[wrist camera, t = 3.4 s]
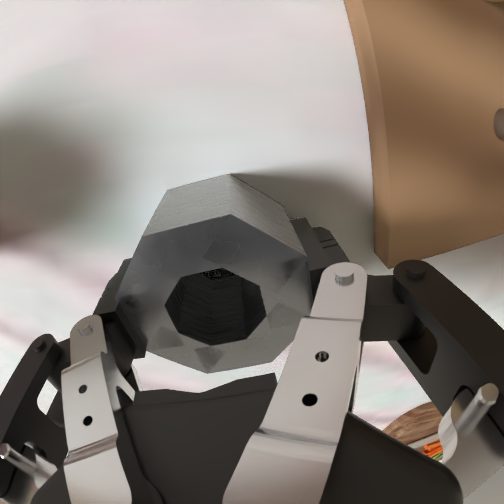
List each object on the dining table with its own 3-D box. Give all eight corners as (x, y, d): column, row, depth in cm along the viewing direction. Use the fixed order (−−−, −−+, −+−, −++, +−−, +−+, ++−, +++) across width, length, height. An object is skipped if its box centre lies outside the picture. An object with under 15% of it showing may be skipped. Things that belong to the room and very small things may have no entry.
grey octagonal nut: (127, 202, 11) (90, 250, 8) (274, 163, 11) (298, 198, 8) (175, 314, 14) (165, 379, 11) (296, 288, 14) (317, 351, 11)
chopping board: (286, 487, 35) (289, 504, 32) (390, 403, 23) (401, 429, 20) (460, 446, 44) (464, 456, 41) (540, 369, 32) (547, 379, 29)
